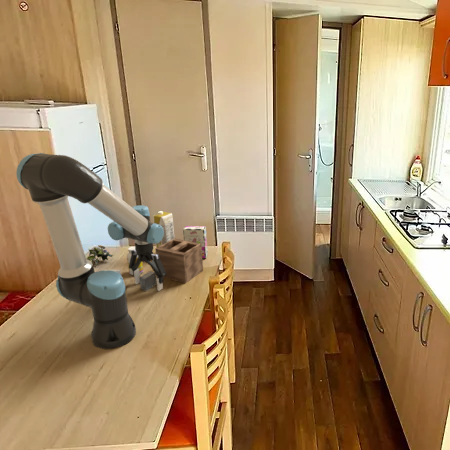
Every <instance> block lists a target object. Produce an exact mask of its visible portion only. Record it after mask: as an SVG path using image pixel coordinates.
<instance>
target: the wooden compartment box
mask: <svg viewBox="0 0 450 450" xmlns="http://www.w3.org/2000/svg"><path fill="white" fill-rule="evenodd" d="M154 250H155V255H156V254H159V257H160V260H161V263H162V265H163V267H164V269H165V271H166V275H165V276H163V279H164V278H165V279H169V280H172V281H176V282H179V283H182V284H183V283H184V284H187V283H189V282H190V281H191V280H192V279H194V278H195V277H197V275H199V274H200V273H202V272H203V271H204V265H203V264H204V261H203V259H202V246H201V244H200V243H195V242H190V241H185V240H184V239H180V238H175V237H174V239H172V240H170V241H168V242H167V243H165V244H163V245H161V246H159V247H157V248H155V249H154ZM159 274H160V273H159Z"/></svg>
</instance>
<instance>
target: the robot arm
mask: <svg viewBox="0 0 450 450" xmlns="http://www.w3.org/2000/svg"><path fill="white" fill-rule="evenodd" d="M15 174H16V178H17V182H18V183H19V184H20V186H22V187H23V189H25V190H28V193H29V195H30V198H31V201H32V202H33V203H36V204H37V205H39V207H40V210H41V214H42V216H43V220H44V222H45V225H46V227H47V231H48V234H49V236H50V237H49V238H50V239H51V242H52V245H53V248H54V251H55V254H56V257H57V260H58V262H59V266H60V268H59V269H58V271H57V272H58V273H57V279H56V281H55V288H56V290H57V292H58V293H59V295H60V296H61V297H63V298H65V299H66V300H67V301H69V302H74V303H76V304H80V305H82V306H85V307H87V308H90V309H91V311H92V317H93V326H92V331H91V334H90V335H91V342H92V344H93V345H94V347H96V348H99V349H104V350H110V349H117V348H120V347H122V346H125V345H126V344H128V343H130V342H131V341H132V340H133V339H134V338H135V336H136V334H137V327H136V324H135V322H134V321H133V317H132V316H131V315H130V312H129V310H128V309H129V307H128V299H127V291H126V284H125V282H124V278H123V276H122V274H121V275H120V274H119V273H117V272H115V271H111V270H112V269H106V270H107V271H104V270H105V269H103V270H102V269H101V270H98V271H95V269H94V268H95V266H94V265H93V264H92V262H91V261H92V260H91V261H90V260H87V259H86V258H87V257H86V253H85V250H84V248H83V244H82V241H81V238H80V234H79V231H78V228H77V225H76V222H75V219H74V216H73V211H72V208H71V205H70V202H69V201H70V200H69V197H70V198H73V199H74V200H75V199H76V200H77V201H78V202H80V203H82V204H88V205H90V206H91V207H93V208H95V209H96V210H97V211H99V212H100V213H102V214H103V215H104V216H106V217H107V218H109V219H110V220H111V222H109V224H108V225H107V234H108V236H109V237H110V238H111V239H112V240H113V241H120V240H123V239H129V240H133V242H134V246H135V249H134V250H132V251H131V254H132V255H131V259H130V263H129V267H128V270H129V269H130V268H131V269H132V270H133V275H132V276H133V277H134V284H135V285H138V284H140V278H139V277H141V274H140V272H139V269H137V268H138V267H139V265H140V263H141V262H142V263H146V264H147V265H149V267H151V269H152V270H153V272H155V273H156V282H157V284H156V288H157V289H156V290H157V291H158V292H160V291H161V290H163V289H164V285H163V283H164V277H163V276H165V275H166V271H165V269H164V267H163V265H162V263H161V260H160V257H159V254H156V253H155V254H154V251H153V249H154V245H156V244H157V243H159V242H160V241H161V240H162V238H163V235H164V230H163V228H162V226H161V225H158V224H156V223H154V222H151V215H150V210H149V207H148V206H146V205H134V206H131V205H130V204H129V203H127V202H126V201H125V200H123V198H121V197H120V196H119V195H117V193H114V192H113V190H111V189H110V188H109V187H107V185H105V184H104V181H103V179H102V178H101V177H100V176H99V175H97V174H96V172H93V170H92V169H90V168H88V167H87V166H86V165H85V164H83V163H82V162H81V161H78V160H77V159H75V158H73V157H70V156H68V155H64V154H50V153H44V152H43V153H42V152H38V153H31V154H28V155H26V156H24V157H23V158H21V160H20V161H19V164H18V165H17V167H16V173H15ZM137 255H138V258H137ZM136 258H137V261H136ZM135 262H136V263H135ZM159 273H160V274H159Z"/></svg>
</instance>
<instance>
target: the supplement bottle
mask: <svg viewBox="0 0 450 450" xmlns="http://www.w3.org/2000/svg"><path fill="white" fill-rule="evenodd" d="M134 249H135V245H134V246H129V247H128V248H127V251H128V253H126V258H127V266H128V273H129V275H132V276H133V270H132V269H131V268H130V269H129V263H130V259H131V255H132V254H131V251H132V250H134ZM137 258H138V255H137ZM137 258H136V261H137ZM135 263H136V262H135ZM137 269H139V272H140V275H141V274H142V273H144V265H143V262H141V263H140V265H139V267H138V268H137Z"/></svg>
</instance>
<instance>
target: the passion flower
mask: <svg viewBox="0 0 450 450" xmlns="http://www.w3.org/2000/svg"><path fill="white" fill-rule="evenodd" d="M97 246H98V247H93V248H92V249H90V248H88V251H89V254H88V256H87V257H86V259H87V260H90V261H91V262H92V264H93V262H94V263H95V266H94V268H96V267H97V264H98V263H99V262H100V260H101V259H102V261H106V260H107V261H108V260H109V257H110V258H112V257H113V254H110V252H109V251H108V249H106V247H105V245H104V246H103V245H97Z"/></svg>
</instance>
